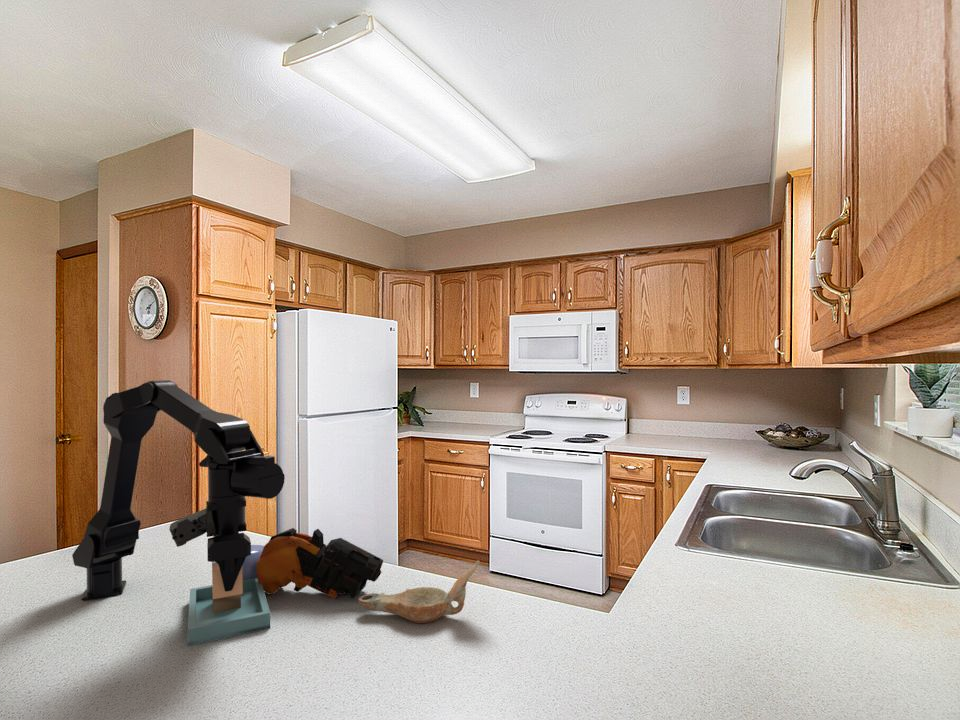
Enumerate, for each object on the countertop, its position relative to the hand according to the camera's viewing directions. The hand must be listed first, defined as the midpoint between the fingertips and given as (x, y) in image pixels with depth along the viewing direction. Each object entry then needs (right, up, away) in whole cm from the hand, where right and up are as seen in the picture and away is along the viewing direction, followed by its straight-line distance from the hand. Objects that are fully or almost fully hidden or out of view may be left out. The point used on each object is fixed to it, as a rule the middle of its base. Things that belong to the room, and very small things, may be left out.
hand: (227, 585), depth 93 cm
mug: (-4, -6, +14) cm, 16 cm away
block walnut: (-3, -6, +5) cm, 8 cm away
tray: (-1, -6, +3) cm, 7 cm away
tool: (+13, -6, +11) cm, 18 cm away
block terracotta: (0, -1, 0) cm, 1 cm away
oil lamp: (+32, -6, +1) cm, 33 cm away
